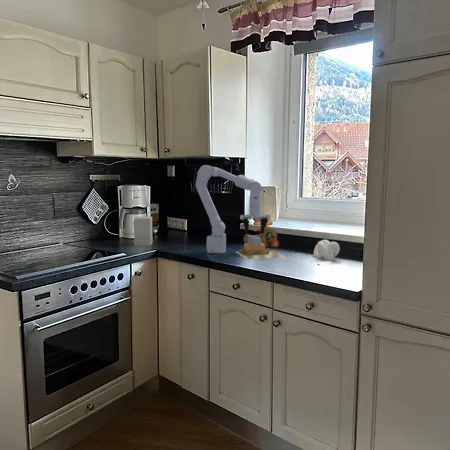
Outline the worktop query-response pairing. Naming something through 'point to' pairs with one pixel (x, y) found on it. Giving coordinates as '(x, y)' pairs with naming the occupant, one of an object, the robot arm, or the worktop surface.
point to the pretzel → (326, 250)
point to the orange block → (253, 247)
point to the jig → (259, 254)
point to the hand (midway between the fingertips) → (254, 233)
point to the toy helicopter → (266, 237)
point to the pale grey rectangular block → (254, 240)
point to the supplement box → (143, 231)
